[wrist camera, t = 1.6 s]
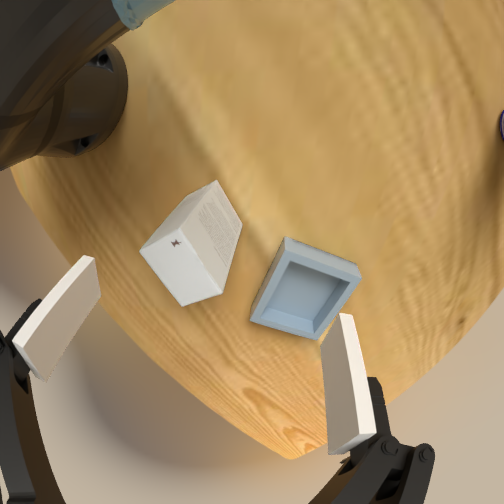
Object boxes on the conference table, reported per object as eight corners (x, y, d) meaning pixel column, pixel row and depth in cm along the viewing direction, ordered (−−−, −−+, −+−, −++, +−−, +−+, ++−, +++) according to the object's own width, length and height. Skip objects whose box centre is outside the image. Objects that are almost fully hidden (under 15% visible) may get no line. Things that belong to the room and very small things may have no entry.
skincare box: (184, 195, 29) (135, 249, 19) (217, 178, 28) (179, 226, 17) (212, 240, 31) (180, 309, 21) (244, 225, 30) (225, 294, 20)
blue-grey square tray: (251, 305, 36) (249, 320, 33) (284, 236, 30) (285, 249, 28) (315, 324, 37) (316, 340, 34) (356, 263, 31) (362, 278, 29)
